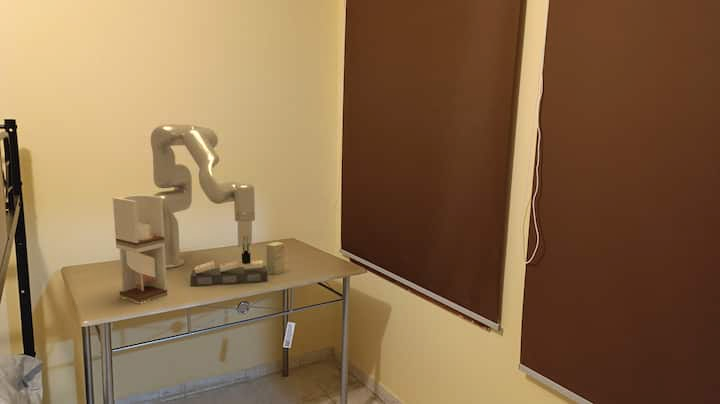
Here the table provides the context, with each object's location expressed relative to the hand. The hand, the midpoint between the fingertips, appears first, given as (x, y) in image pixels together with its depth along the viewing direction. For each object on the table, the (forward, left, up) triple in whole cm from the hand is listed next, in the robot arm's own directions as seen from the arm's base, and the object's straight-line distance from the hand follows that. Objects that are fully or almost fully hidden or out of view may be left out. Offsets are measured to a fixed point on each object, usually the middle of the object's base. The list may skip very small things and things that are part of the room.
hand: (246, 262), depth 184 cm
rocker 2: (+3, 0, -1) cm, 3 cm away
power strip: (-6, 0, -7) cm, 9 cm away
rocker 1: (-15, 0, -1) cm, 15 cm away
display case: (-35, -11, -7) cm, 38 cm away
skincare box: (+12, +7, -7) cm, 16 cm away
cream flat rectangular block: (-6, 0, -1) cm, 6 cm away
